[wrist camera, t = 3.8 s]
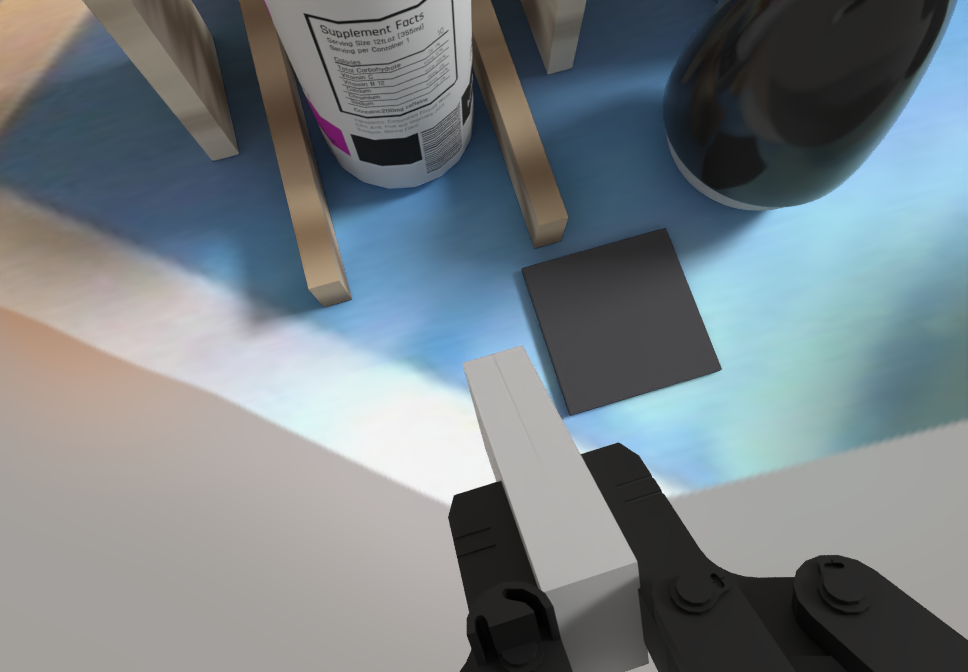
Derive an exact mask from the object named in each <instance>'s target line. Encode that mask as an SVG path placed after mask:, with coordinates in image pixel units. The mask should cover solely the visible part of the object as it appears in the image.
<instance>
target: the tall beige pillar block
mask: <svg viewBox="0 0 968 672" xmlns="http://www.w3.org/2000/svg"><path fill="white" fill-rule="evenodd" d="M586 1H587V0H520V2H521V4H522V7H523V10H524V13H525V15H526V18H527V21H528V23H529V26H530V29H531V31H532V34H533V37H534V39H535V42H536V45H537V47H538V50H539V53H540V56H541V58H542V61H543V64H544V66H545V69H546V72H547V74H552V73H556V72H560V71H563V70H567V69H571V68H572V67H573V62H574V58H575V53H576V48H577V43H578V39H579V34H580V29H581V25H582V20H583V15H584V10H585V6H586ZM83 2H84V3H85V4H86V5H87V7H88V8H89V9H90V10H91V11H92V13H93V14H94V15H95V16H96V18H97V19H98V20H99V21H100V23H101V24H102V25H103V26H104V28H105V29H106V30H107V31H108V32H109V34H110V35H111V36H112V37H113V39H114V40H115V41H116V42H117V44H118V45H119V46H120V47H121V49H122V50H123V51H124V52H125V53H126V55H127V56H128V57H129V58H130V60H131V61H132V62H133V63H134V65H135V66H136V67H137V68H138V70H139V71H140V72H141V73H142V74H143V76H144V77H145V78H146V79H147V81H148V82H149V83H150V84H151V86H152V87H153V88H154V89H155V91H156V92H157V93H158V94H159V95H160V97H161V98H162V99H163V100H164V102H165V103H166V104H167V105H168V107H169V108H170V109H171V110H172V112H173V113H174V114H175V115H176V116H177V118H178V119H179V120H180V121H181V123H182V124H183V125H184V126H185V128H186V129H187V130H188V131H189V133H190V134H191V135H192V136H193V137H194V139H195V140H196V141H197V142H198V144H199V145H200V146H201V147H202V149H203V150H204V151H205V152H206V154H207V155H208V156H209V157H210V158H211V160H212V161H215V160H219V159H223V158H227V157H231V156H235V155H238V154H239V150H238V146H237V141H236V137H235V132H234V128H233V124H232V119H231V115H230V110H229V106H228V101H227V97H226V92H225V88H224V84H223V79H222V75H221V70H220V66H219V61H218V57H217V52H216V48H215V44H214V39H213V36H212V34H211V32H210V31H209V29H208V27H207V26H206V24H205V22H204V21H203V19H202V17H201V15H200V14H199V12H198V10H197V9H196V7H195V5H194V4H193V2H192V0H83Z"/></svg>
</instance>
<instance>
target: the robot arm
mask: <svg viewBox="0 0 968 672" xmlns="http://www.w3.org/2000/svg"><path fill="white" fill-rule="evenodd" d="M463 367H464V371H465V374H466V378H467V382H468V386H469V389H470V393H471V397H472V400H473V404H474V408H475V412H476V415H477V419H478V423H479V426H480V430H481V434H482V438H483V441H484V445H485V449H486V452H487V455H488V458H489V461H490V464H491V467H492V470H493V473H494V476H495V478H496V481H497V482H495V483H492V484H489V485H486V486H482V487H479V488H476V489H473V490H469V491H466V492H463V493H460V494H457V495H454V497H453V501H452V505H451V509H450V512H449V516H448V519H449V523H450V528H451V532H452V536H453V541H454V545H455V550H456V555H457V558H458V564H459V568H460V572H461V577H462V581H463V586H464V591H465V595H466V600H467V604H468V609H469V614H468V617H467V637H468V640H469V643H470V645H471V648H472V649H471V652H470V654H469V657H468V659H467V662H466V663H465V665H464V666H463V668H462V669H461V671H460V672H625V671H628V670H631V669H634V668H637V667H640V666H643V665H646V664H648V663H649V661H648V651H649V653H650V655H651V658H652V660H653V662H654V663H655V666H656V668H657V670H658V672H968V640H967V639H966V638H964V637H963V636H962V635H960V634H959V633H957V632H956V631H955V630H954V629H952V628H951V627H950V626H948V625H947V624H945V623H944V622H943V621H942V620H940V619H939V618H937V617H936V616H935V615H934V614H932V613H931V612H930V611H928V610H927V609H926V608H924V607H923V606H922V605H920V604H919V603H918V602H916V601H915V600H914V599H912V598H911V597H909V596H908V595H907V594H906V593H904V592H903V591H902V590H900V589H899V588H898V587H897V586H895V585H894V584H892V583H891V582H890V581H889V580H887V579H886V578H885V577H883V576H882V575H880V574H879V573H878V572H877V571H875V570H874V569H872V568H870V567H868V566H867V565H865V564H863V563H861V562H859V561H858V560H855V559H851V558H847V557H843V556H839V555H820V556H817V557H815V558H812V559H810V560H807V561H805V562H804V563H803V564H802V565H801V566H800V568H799V569H798V570H797V571H796V575H795V577H771V578H770V577H768V578H757V577H756V578H755V577H745V576H741V575H737V574H734V573H730V572H728V571H726V570H724V569H722V568H721V567H718V566H717V565H716V564H714V563H713V562H712V561H710V560H709V559H708V558H707V557H706V556H705V555H704V553H703V552H702V551H701V550H700V548H699V547H698V545H697V544H696V542H695V541H694V539H693V538H692V536H691V535H690V533H689V531H688V530H687V528H686V527H685V525H684V524H683V522H682V521H681V519H680V518H679V516H678V515H677V513H676V512H675V510H674V509H673V507H672V505H671V504H670V502H669V501H668V499H667V498H666V496H665V495H664V494H663V493H662V491H661V489H660V487H659V486H658V484H657V483H656V481H655V479H654V478H652V476H651V473H650V472H649V470H648V469H647V467H646V466H645V464H644V463H643V461H642V460H641V458H640V457H639V455H637V454H636V453H634V452H633V451H631V450H630V449H628V448H626V447H625V446H623V445H622V444H620V443H615V444H612V445H609V446H606V447H603V448H599V449H596V450H593V451H590V452H587V453H583V454H580V453H579V451H578V449H577V447H576V445H575V443H574V441H573V439H572V438H571V436H570V434H569V432H568V430H567V428H566V426H565V424H564V423H563V421H562V419H561V417H560V415H559V413H558V411H557V409H556V408H555V406H554V404H553V402H552V400H551V398H550V396H549V394H548V392H547V391H546V389H545V387H544V385H543V383H542V381H541V379H540V377H539V376H538V374H537V372H536V370H535V368H534V366H533V364H532V362H531V360H530V359H529V357H528V355H527V353H526V351H525V349H524V347H523V345H522V346H519V347H515V348H512V349H508V350H505V351H502V352H498V353H495V354H491V355H488V356H485V357H481V358H478V359H474V360H471V361H468V362H464V363H463ZM647 649H648V651H647Z"/></svg>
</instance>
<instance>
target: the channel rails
mask: <svg viewBox="0 0 968 672" xmlns="http://www.w3.org/2000/svg"><path fill="white" fill-rule="evenodd" d="M239 3H240V7H241V11H242V15H243V19H244V24H245V28H246V32H247V36H248V40H249V44H250V49H251V53H252V57H253V61H254V65H255V69H256V73H257V78H258V82H259V86H260V90H261V94H262V98H263V102H264V107H265V111H266V115H267V119H268V123H269V127H270V131H271V136H272V140H273V144H274V148H275V152H276V156H277V161H278V165H279V169H280V173H281V177H282V181H283V185H284V190H285V194H286V198H287V202H288V206H289V210H290V214H291V219H292V223H293V227H294V231H295V235H296V239H297V243H298V248H299V252H300V256H301V260H302V264H303V268H304V273H305V277H306V281H307V285H308V289H309V290H310V291H311V293H312V294H313V295H314V296H315V297H316V298H317V300H318V301H319V302H320V303H321V304H322V306H323V307H327V306H331V305H334V304H338V303H341V302H345V301H348V300H352V297H351V294H350V290H349V286H348V282H347V278H346V274H345V270H344V266H343V262H342V259H341V255H340V251H339V247H338V243H337V239H336V235H335V231H334V228H333V224H332V220H331V216H330V212H329V208H328V204H327V200H326V197H325V193H324V189H323V185H322V181H321V177H320V173H319V169H318V166H317V162H316V158H315V154H314V150H313V146H312V142H311V138H310V135H309V131H308V127H307V123H306V119H305V115H304V111H303V107H302V104H301V100H300V96H299V92H298V88H297V84H296V80H295V76H294V72H293V69H292V65H291V62H290V60H289V57H288V55H287V53H286V51H285V48H284V46H283V44H282V42H281V39H280V37H279V35H278V33H277V30H276V28H275V26H274V24H273V21H272V19H271V17H270V15H269V12H268V10H267V8H266V6H265V3H264V1H263V0H239ZM471 21H472V64H473V70H474V72H475V75H476V78H477V81H478V84H479V87H480V90H481V93H482V96H483V99H484V102H485V105H486V108H487V111H488V114H489V117H490V120H491V123H492V125H493V128H494V131H495V134H496V137H497V140H498V143H499V146H500V149H501V152H502V155H503V158H504V161H505V164H506V167H507V170H508V173H509V176H510V178H511V181H512V184H513V187H514V190H515V193H516V196H517V199H518V202H519V205H520V208H521V211H522V214H523V217H524V220H525V223H526V226H527V229H528V231H529V234H530V237H531V240H532V243H533V246H534V249H535V248H538V247H542V246H545V245H549V244H553V243H556V242H560V241H561V239H562V236H563V233H564V230H565V227H566V223H567V220H568V214H567V212H566V209H565V206H564V203H563V200H562V198H561V195H560V192H559V189H558V187H557V184H556V181H555V178H554V175H553V173H552V170H551V167H550V164H549V161H548V159H547V156H546V153H545V150H544V147H543V145H542V142H541V139H540V136H539V134H538V131H537V128H536V125H535V122H534V120H533V117H532V114H531V111H530V108H529V106H528V103H527V100H526V97H525V95H524V92H523V89H522V86H521V83H520V81H519V78H518V75H517V72H516V69H515V67H514V64H513V61H512V58H511V55H510V53H509V50H508V47H507V44H506V42H505V39H504V36H503V33H502V30H501V28H500V25H499V22H498V19H497V16H496V14H495V11H494V8H493V5H492V3H491V0H471Z"/></svg>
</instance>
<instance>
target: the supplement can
mask: <svg viewBox="0 0 968 672" xmlns="http://www.w3.org/2000/svg"><path fill="white" fill-rule="evenodd" d="M263 1H264V3H265V6H266V8H267V10H268V12H269V15H270V17H271V19H272V21H273V24H274V26H275V28H276V30H277V33H278V35H279V37H280V39H281V42H282V44H283V46H284V48H285V51H286V53H287V55H288V57H289V60H290V62H291V64H292V66H293V69H294V71H295V73H296V75H297V78H298V80H299V82H300V84H301V87H302V89H303V91H304V93H305V96H306V98H307V100H308V102H309V105H310V107H311V109H312V111H313V114H314V116H315V118H316V120H317V123H318V125H319V127H320V129H321V132H322V134H323V136H324V138H325V141H326V143H327V145H328V148H329V149H330V151H331V152H332V154H333V155H334V156H335V158H336V159H337V161H338V162H339V164H340V165H341V167H342V168H343V169H345V170H346V171H348V172H349V173H351V174H352V175H354V176H355V177H357V178H358V179H359V180H361V181H362V182H365V183H369V184H372V185H376V186H380V187H384V188H388V189H393V188H407V187H417V186H419V185H422V184H424V183H427V182H429V181H431V180H434V179H436V178H439V177H441V176H442V175H443V174H444V173H445V172H446V171H448V170H449V169H450V168H451V167H452V166H453V165H455V164H456V163H457V162H458V161H459V160H460V158H461V156H462V155H463V153H464V151H465V149H466V147H467V145H468V144H469V142H470V140H471V135H472V126H473V117H474V108H473V64H472V21H471V0H263Z"/></svg>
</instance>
